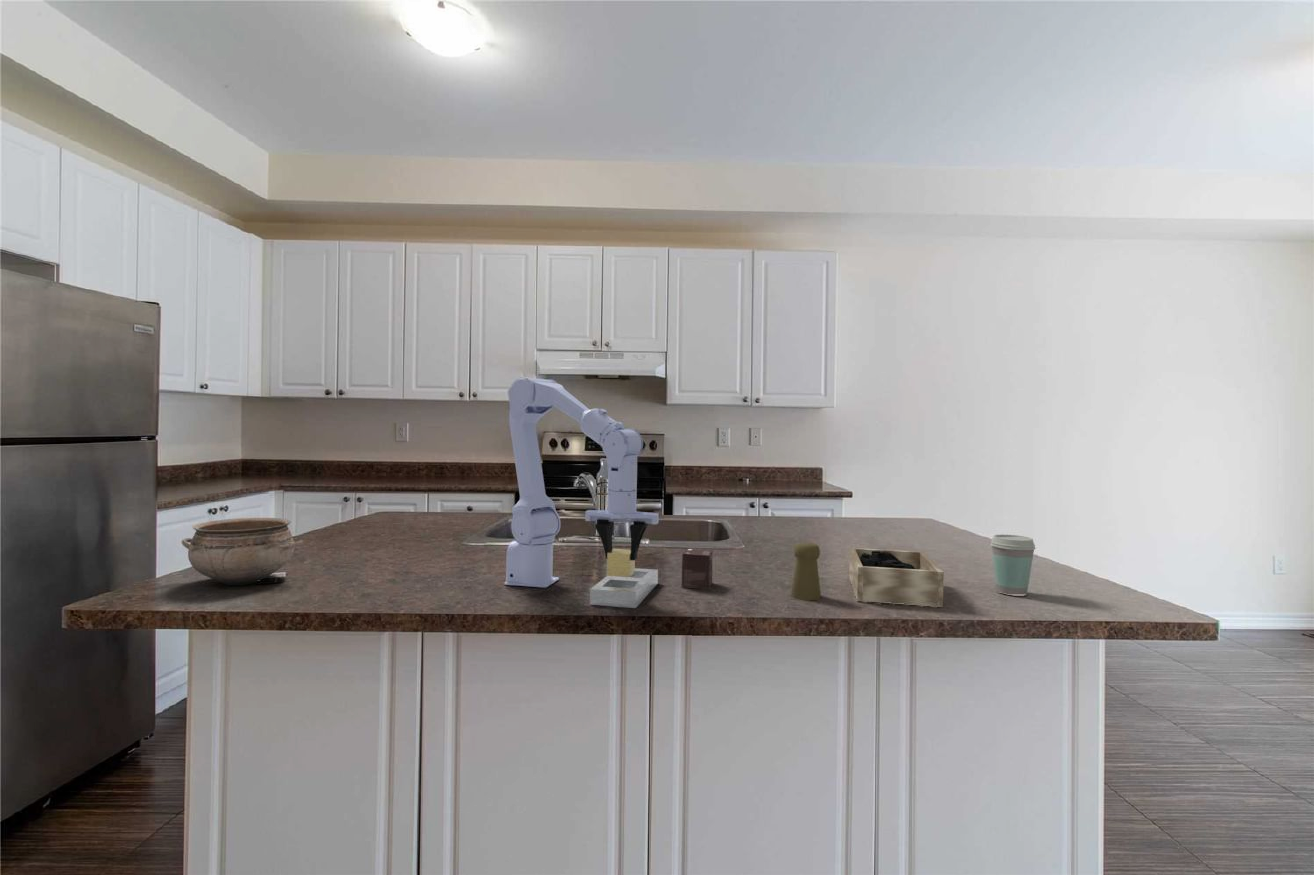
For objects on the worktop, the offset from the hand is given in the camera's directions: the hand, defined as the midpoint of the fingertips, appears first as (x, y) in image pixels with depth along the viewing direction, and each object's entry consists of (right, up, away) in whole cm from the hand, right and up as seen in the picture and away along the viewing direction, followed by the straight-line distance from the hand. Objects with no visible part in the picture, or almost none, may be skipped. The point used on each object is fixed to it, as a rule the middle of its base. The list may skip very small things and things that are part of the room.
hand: (621, 558), depth 131 cm
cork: (+38, -9, +5) cm, 39 cm away
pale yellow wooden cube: (0, -3, 0) cm, 3 cm away
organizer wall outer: (+64, -9, +8) cm, 66 cm away
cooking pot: (-80, -7, +9) cm, 81 cm away
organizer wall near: (+55, -9, 0) cm, 56 cm away
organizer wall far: (+59, -9, +20) cm, 63 cm away
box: (+16, -8, +13) cm, 22 cm away
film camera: (+57, -9, +9) cm, 58 cm away
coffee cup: (+83, -10, +11) cm, 84 cm away
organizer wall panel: (+50, -9, +11) cm, 52 cm away
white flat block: (+1, -8, +5) cm, 9 cm away
